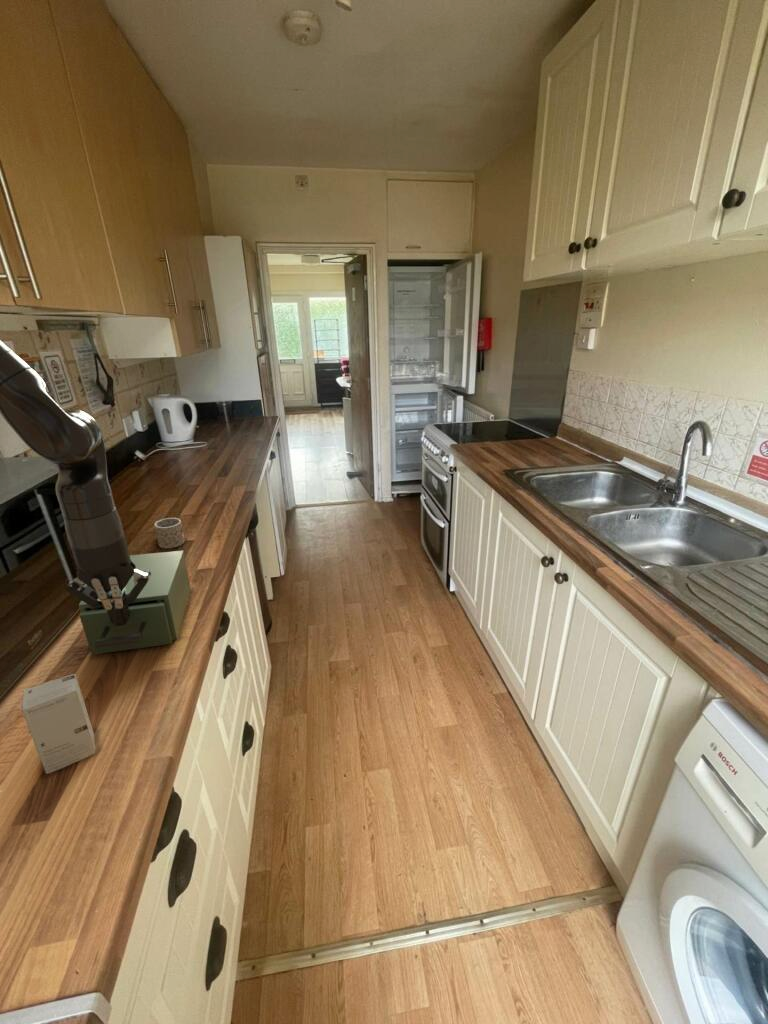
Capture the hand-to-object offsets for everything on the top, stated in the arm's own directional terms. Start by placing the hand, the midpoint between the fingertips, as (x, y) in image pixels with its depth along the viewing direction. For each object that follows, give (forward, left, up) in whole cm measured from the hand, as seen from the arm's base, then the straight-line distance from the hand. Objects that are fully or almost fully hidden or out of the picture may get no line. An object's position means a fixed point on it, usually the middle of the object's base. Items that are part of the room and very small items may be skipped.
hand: (121, 622), depth 76 cm
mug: (-33, +36, -9) cm, 49 cm away
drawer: (-5, +6, -7) cm, 11 cm away
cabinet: (-8, +10, -8) cm, 15 cm away
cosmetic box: (+10, -16, -9) cm, 21 cm away
